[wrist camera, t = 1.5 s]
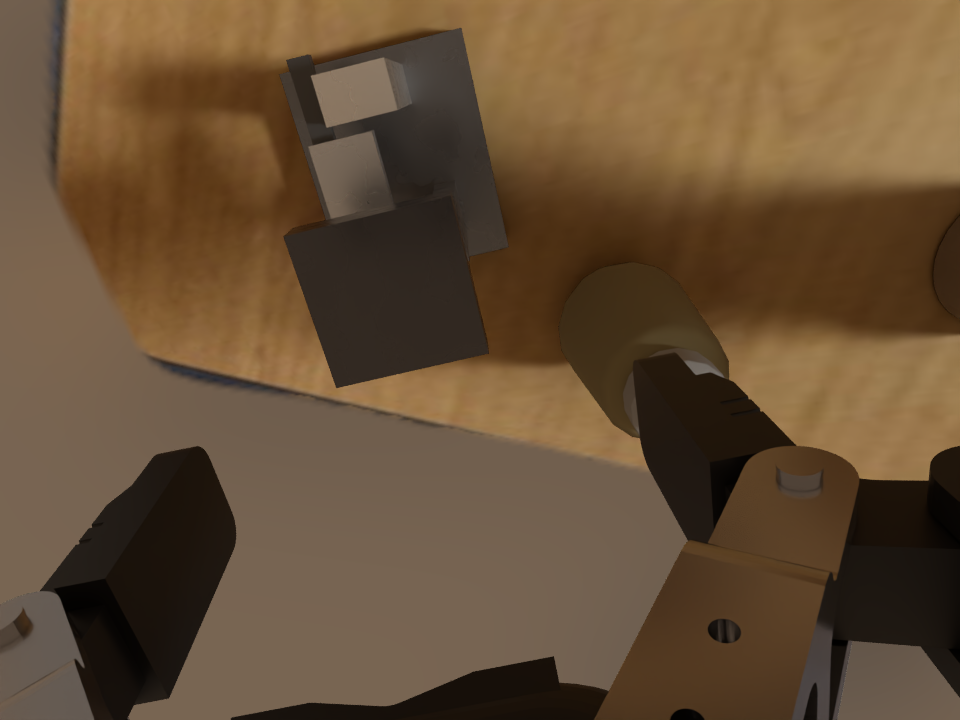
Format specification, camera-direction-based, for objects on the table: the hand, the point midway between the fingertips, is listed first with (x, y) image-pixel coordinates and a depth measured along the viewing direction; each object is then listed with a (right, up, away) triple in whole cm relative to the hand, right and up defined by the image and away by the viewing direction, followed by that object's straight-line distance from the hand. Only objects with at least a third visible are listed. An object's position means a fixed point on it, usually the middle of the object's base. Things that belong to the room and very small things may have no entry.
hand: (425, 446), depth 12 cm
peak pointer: (-6, +13, +18) cm, 23 cm away
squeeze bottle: (+10, +5, +31) cm, 33 cm away
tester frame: (-4, +13, +27) cm, 30 cm away
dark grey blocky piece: (-3, +9, +21) cm, 23 cm away
